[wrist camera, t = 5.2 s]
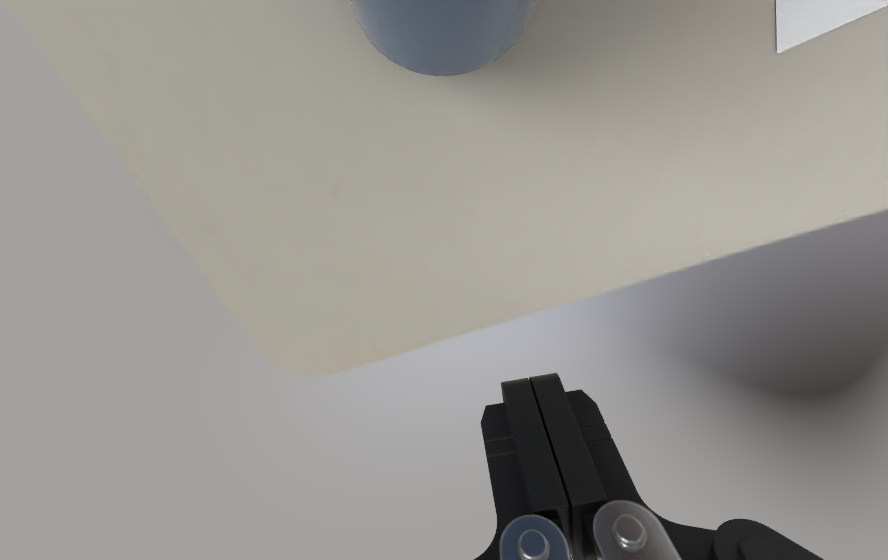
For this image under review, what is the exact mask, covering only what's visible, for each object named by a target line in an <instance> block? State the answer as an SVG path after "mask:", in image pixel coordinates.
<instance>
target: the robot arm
mask: <svg viewBox="0 0 888 560" xmlns="http://www.w3.org/2000/svg"><path fill="white" fill-rule="evenodd" d="M501 386H502V394H503V401H504V403H499V404H493V405H487V406H486V407H485V410H484V414H483V417H482V420H481V427H482V433H483V439H484V444H485V450H486V456H487V462H488V467H489V473H490V479H491V485H492V491H493V496H494V502H495V508H496V514H497V529H496V534H495V536H494V539H493V541H492V543H491V544H490V546H489V547H488V549H487V550H486V551H485V552H484V553H483V554H481V555H480V556H479V557H477V558H476V559H474V560H572V559H573V560H823V559H822V558H820V557H818V556H817V555H815V554H813V553H812V552H809V551H808V550H806V549H805V548H803V547H801V546H800V545H798V544H796V543H795V542H793V541H791V540H790V539H788V538H786V537H784V536H783V535H781V534H779V533H778V532H776V531H774V530H773V529H771V528H769V527H767V526H765V525H763V524H761V523H758V522H756V521H752V520H747V519H733V520H729V521H726V522H724V523H723V524H722V525H720V526H719V527H718V529H717V530H709V529H703V528H698V527H692V526H685V525H681V524H676V523H674V522H671V521H668V520H666V519H664V518H662V517H661V516H659V515H657V514H656V513H655V512H653V511H652V510H651V509H650V508H649V507H648V506H647V505H646V504H645V503H644V502H643V500H642V499H641V498H640V496H639V494H638V492H637V490H636V488H635V486H634V484H633V482H632V479H631V477H630V475H629V473H628V471H627V469H626V467H625V465H624V462H623V460H622V458H621V456H620V454H619V451H618V449H617V447H616V445H615V443H614V441H613V439H612V438H611V434H610V432H609V430H608V428H607V426H606V424H605V423H604V419H603V417H602V415H601V413H600V411H599V408H598V406H597V404H596V403H595V402H594V401H593V400H592V399H591V398H590V397H589V396H588V395H587V394H586V393H584V392H583V391H582V390H576V391H569V392H565V390H564V388H563V385H562V383H561V380H560V378H559V376H558V374H557V373H553V374H547V375H541V376H535V377H530V378H529V380H528V378H524V379H519V380H513V381H507V382H501ZM570 554H571V555H572V558H571V555H570Z"/></svg>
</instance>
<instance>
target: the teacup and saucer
mask: <svg viewBox="0 0 888 560" xmlns="http://www.w3.org/2000/svg"><path fill="white" fill-rule="evenodd" d="M886 6H888V0H776V29H777V54H778V53H780V52H783V51H785V50H787V49H790V48H792V47H794V46H796V45H799V44H801V43H803V42H806V41H808V40H810V39H812V38H815V37H817V36H819V35H822V34H824V33H826V32H828V31H831V30H833V29H835V28H838V27H840V26H842V25H844V24H847V23H849V22H851V21H854V20H856V19H858V18H860V17H863V16H865V15H867V14H870V13H872V12H874V11H876V10H879V9H881V8H883V7H886Z"/></svg>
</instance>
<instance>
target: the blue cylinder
mask: <svg viewBox="0 0 888 560" xmlns="http://www.w3.org/2000/svg"><path fill="white" fill-rule="evenodd" d="M349 2H350V5H351V7H352V10H353V13H354V15H355V18H356V20H357V22H358V24H359V26H360V28H361V29H362V31H363V33H364V34H365V36H366V37H367V38H368V40H369V41H370V42H371V43H372V44H373V45H374V47H375V48H376V49H377V50H378V51H379V52H381V53H382V54H383V55H384V56H386V57H387V58H388V59H389V60H391V61H393V62H394V63H396V64H398V65H399V66H402V67H404V68H406V69H409V70H411V71H414V72H418V73H421V74H427V75H434V76H451V75H459V74H464V73H467V72H471V71H474V70H477V69H479V68H481V67H484V66H486V65H487V64H489V63H491V62H493V61H494V60H496V59H497V58H499V57H500V56H501V55H502V54H504V53H505V52H506V51H507V50H508V49H509V48H510V47H511V46H512V45H513V44H514V43H515V42H516V41H517V39H518V38H519V37H520V35H521V34H522V33H523V31H524V29H525V28H526V26H527V24H528V22H529V20H530V18H531V16H532V13H533V11H534V8H535V5H536V2H537V0H349Z"/></svg>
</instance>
